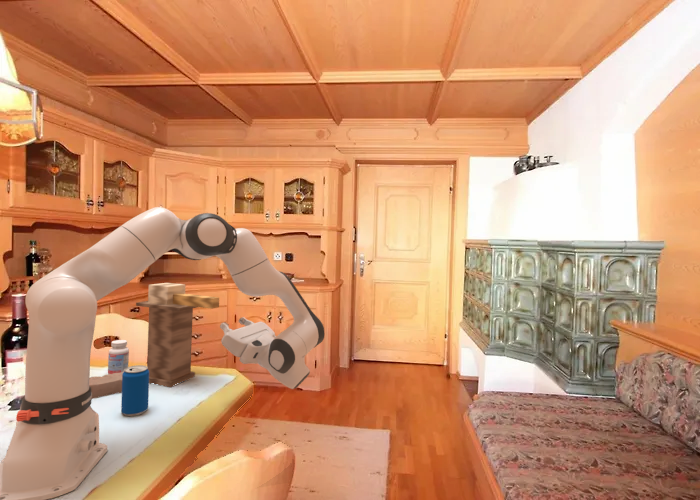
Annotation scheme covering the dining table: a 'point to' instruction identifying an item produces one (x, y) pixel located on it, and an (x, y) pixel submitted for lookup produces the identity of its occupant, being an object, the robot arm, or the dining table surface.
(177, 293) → the beech mallet
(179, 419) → the dining table surface
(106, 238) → the robot arm
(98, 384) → the brick
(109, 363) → the pill bottle
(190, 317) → the walnut shelf post
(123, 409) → the beverage can
